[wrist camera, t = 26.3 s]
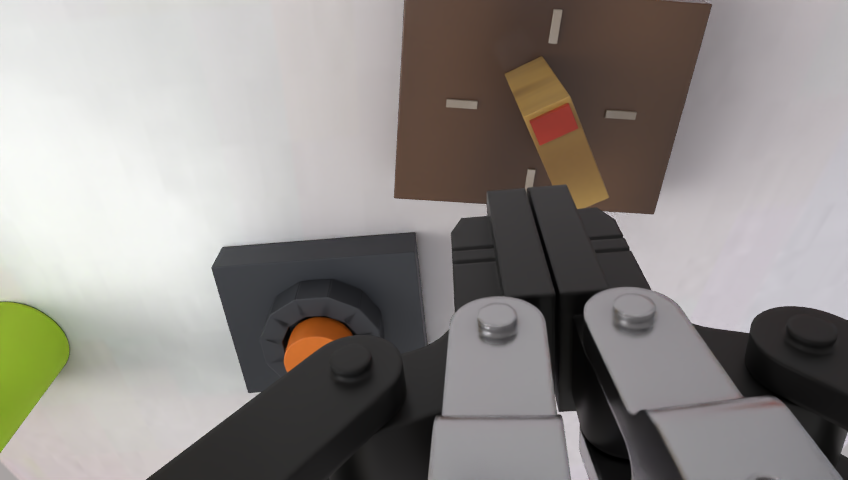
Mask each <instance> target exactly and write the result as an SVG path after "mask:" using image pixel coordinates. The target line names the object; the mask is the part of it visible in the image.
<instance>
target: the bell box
mask: <svg viewBox="0 0 848 480" xmlns="http://www.w3.org/2000/svg"><path fill="white" fill-rule="evenodd" d="M212 271H213V275H214V278H215V281H216V285H217V288H218V292H219V295H220V298H221V302H222V305H223V309H224V312H225V315H226V319H227V322H228V326H229V329H230V332H231V336H232V339H233V342H234V346H235V349H236V353H237V356H238V359H239V363H240V366H241V370H242V373H243V376H244V380H245V383H246V387H247V390H248V393H255V392H262V391H264V390H265V389H266V388H268V387H269V386H270V385H272V384H273V383H274V382H275V381H277V380H278V379H279V378H281V377H282V376H283V375H285V374H286V373H287V371H286V369H285V366H284V355H285V352H286V348H287V345H288V341H289V338H290V335H291V332H292V330H293V329H294V328H295V327H296V326H297V325H298V324H299V323H300V322H302V321H304V320H306V319H309V318H313V317H327V318H331V319H335V320H337V321H339V322H341V323H342V324H344V325H345V326H346V327H347V328H348V329H349V330H350V331H351V333H352V334H353V336H354V335H372V336H377V337H380V338H383V339H386V340H388V341H389V342H391V343H392V344H394V345H395V346H396V347H397V348H398V350H399V351H400V353H401V354H403V353H406V352H409V351H413V350H416V349H419V348H422V347H424V346H427V336H426V327H425V318H424V308H423V299H422V289H421V280H420V271H419V261H418V252H417V242H416V233H415V232H414V233H401V234H388V235H375V236H362V237H350V238H337V239H324V240H311V241H298V242H285V243H273V244H260V245H247V246H234V247H223V248H222V249H221V251H220V253H219V255H218V256H217V258H216V260H215V262H214V264H213V266H212Z"/></svg>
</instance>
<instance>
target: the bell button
mask: <svg viewBox="0 0 848 480" xmlns="http://www.w3.org/2000/svg"><path fill="white" fill-rule="evenodd" d="M347 336H353V334H352V333H351V331H350V330H349V329H348V328H347V327H346V326H345V325H344V324H342V323H341V322H339V321H337V320H335V319H331V318H327V317H313V318H309V319H306V320H304V321H302V322H300V323H299V324H298V325H297V326H296V327H295V328H294V329H293V330H292V332H291V335H290V338H289V341H288V345H287V348H286V352H285V355H284V366H285V369H286V371H287V372H289V371H290V370H291V369H293V368H294V367H295V366H297V365H298V364H299V363H301V362H302V361H303V360H305V359H306V358H307V357H308V356H310V355H311V354H312V353H314V352H315V351H316V350H318V349H319V348H321V347H322V346H324V345H325V344H327V343H329V342H331V341H334V340H337V339H339V338H343V337H347Z"/></svg>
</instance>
